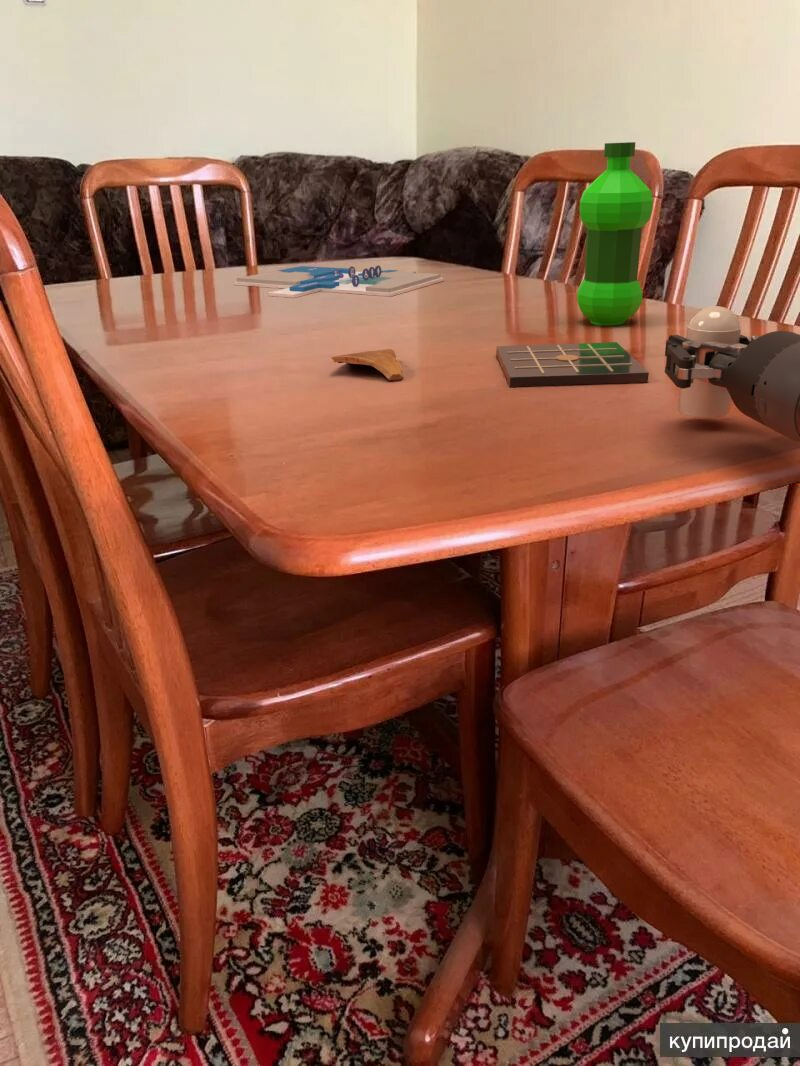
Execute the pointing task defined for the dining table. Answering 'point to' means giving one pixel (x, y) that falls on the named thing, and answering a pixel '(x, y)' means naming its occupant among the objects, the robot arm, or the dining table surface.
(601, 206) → the plastic bottle
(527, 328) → the dining table surface
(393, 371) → the pottery shard
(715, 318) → the dome-topped cylinder
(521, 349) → the board
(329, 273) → the relief map
